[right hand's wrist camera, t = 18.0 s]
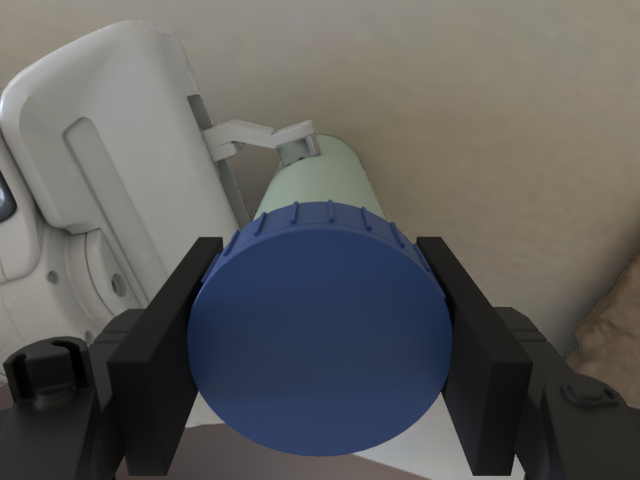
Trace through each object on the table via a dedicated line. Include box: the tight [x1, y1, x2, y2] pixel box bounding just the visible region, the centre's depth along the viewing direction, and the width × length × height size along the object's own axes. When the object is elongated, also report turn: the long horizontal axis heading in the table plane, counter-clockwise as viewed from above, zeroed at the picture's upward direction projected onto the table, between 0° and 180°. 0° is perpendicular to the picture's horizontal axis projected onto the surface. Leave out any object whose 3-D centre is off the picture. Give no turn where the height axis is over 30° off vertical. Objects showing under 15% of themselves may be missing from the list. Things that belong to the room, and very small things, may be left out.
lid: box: [186, 200, 453, 457], centre depth 11 cm, size 6×6×2 cm
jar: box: [253, 135, 387, 221], centre depth 19 cm, size 5×5×18 cm
